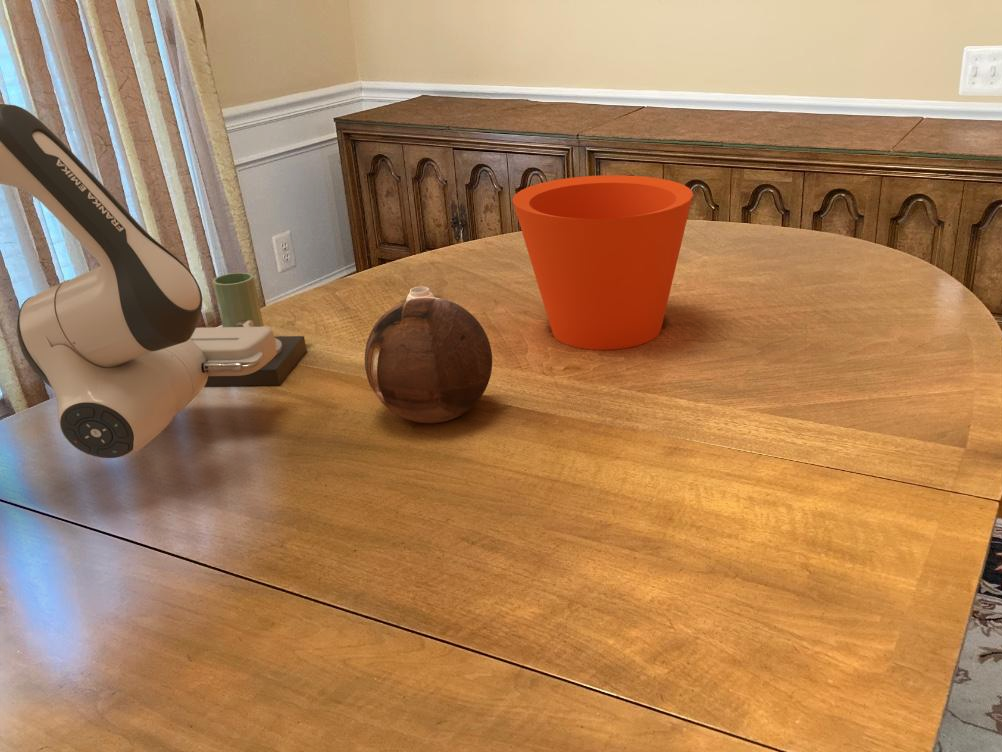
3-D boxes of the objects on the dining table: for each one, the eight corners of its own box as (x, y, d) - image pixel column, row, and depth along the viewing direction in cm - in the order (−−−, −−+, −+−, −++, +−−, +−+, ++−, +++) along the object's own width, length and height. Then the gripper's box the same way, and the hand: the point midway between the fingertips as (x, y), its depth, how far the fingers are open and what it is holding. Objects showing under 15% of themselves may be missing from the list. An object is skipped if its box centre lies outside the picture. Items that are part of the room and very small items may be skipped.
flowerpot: (604, 290, 160) (600, 168, 151) (725, 325, 145) (729, 190, 135) (487, 333, 145) (475, 199, 136) (609, 377, 129) (604, 229, 120)
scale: (191, 386, 131) (186, 366, 129) (225, 352, 141) (221, 333, 140) (279, 385, 130) (275, 364, 129) (307, 351, 141) (303, 331, 139)
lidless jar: (442, 308, 155) (429, 299, 159) (440, 290, 154) (427, 282, 158) (413, 314, 153) (400, 306, 157) (410, 296, 152) (398, 288, 155)
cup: (222, 356, 132) (206, 285, 128) (236, 341, 137) (221, 272, 132) (260, 355, 132) (245, 284, 127) (273, 341, 136) (259, 272, 132)
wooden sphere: (487, 385, 128) (477, 274, 121) (505, 435, 115) (495, 314, 108) (371, 400, 125) (354, 287, 118) (376, 453, 112) (357, 330, 105)
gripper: (248, 342, 109) (288, 301, 122) (71, 345, 110) (128, 304, 123) (259, 394, 112) (297, 348, 125) (86, 396, 113) (140, 350, 126)
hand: (211, 326), depth 124 cm, fingers open, 8 cm apart
